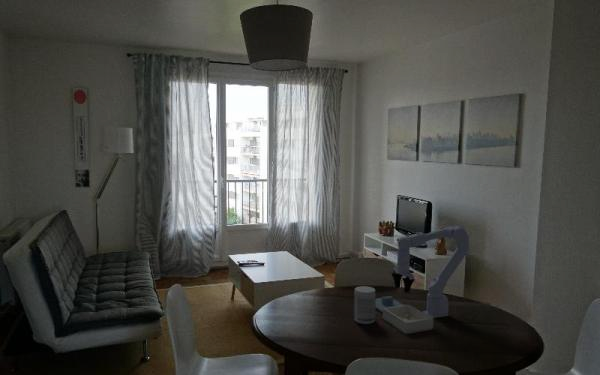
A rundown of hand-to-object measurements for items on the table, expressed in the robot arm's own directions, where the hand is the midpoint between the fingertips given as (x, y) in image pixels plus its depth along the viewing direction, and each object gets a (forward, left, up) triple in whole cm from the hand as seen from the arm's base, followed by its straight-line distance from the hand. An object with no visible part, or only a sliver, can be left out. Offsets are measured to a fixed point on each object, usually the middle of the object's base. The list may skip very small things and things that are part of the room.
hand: (402, 289), depth 216 cm
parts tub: (+7, +14, -10) cm, 19 cm away
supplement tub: (+23, +4, -11) cm, 26 cm away
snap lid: (+4, -7, -10) cm, 13 cm away
